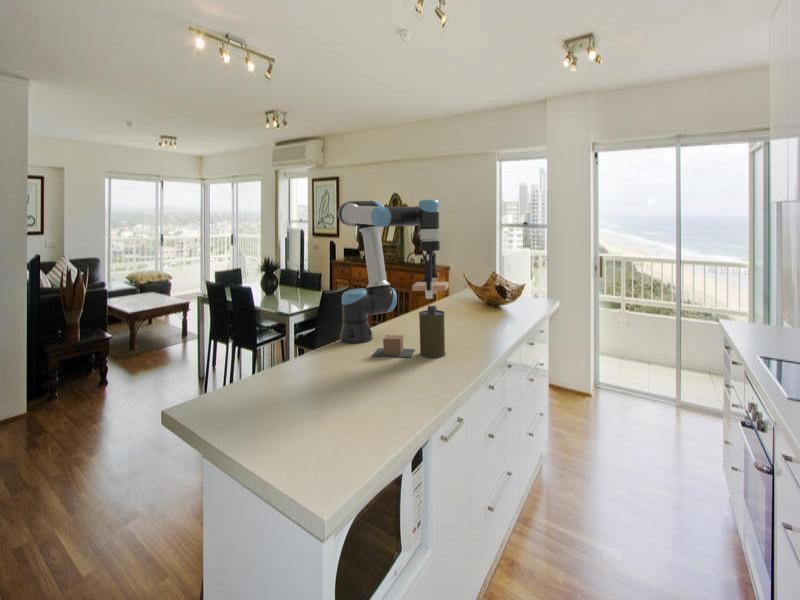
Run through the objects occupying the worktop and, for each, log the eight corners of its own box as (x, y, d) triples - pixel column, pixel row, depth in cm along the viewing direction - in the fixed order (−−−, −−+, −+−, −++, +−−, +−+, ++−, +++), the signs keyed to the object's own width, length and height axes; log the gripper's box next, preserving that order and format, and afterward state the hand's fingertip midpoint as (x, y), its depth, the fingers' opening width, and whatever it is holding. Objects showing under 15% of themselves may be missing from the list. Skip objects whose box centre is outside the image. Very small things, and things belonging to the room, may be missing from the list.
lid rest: (371, 357, 174) (370, 340, 173) (378, 349, 185) (377, 333, 184) (410, 358, 171) (410, 341, 170) (415, 350, 182) (414, 334, 181)
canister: (444, 358, 169) (443, 308, 166) (418, 357, 171) (416, 308, 168) (446, 350, 180) (446, 303, 176) (422, 350, 182) (420, 303, 178)
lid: (412, 290, 167) (412, 285, 166) (416, 286, 177) (416, 282, 177) (446, 290, 164) (445, 285, 164) (448, 286, 175) (448, 281, 174)
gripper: (424, 239, 180) (425, 291, 183) (415, 242, 157) (417, 301, 161) (442, 239, 178) (443, 291, 182) (435, 241, 155) (437, 301, 159)
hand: (431, 296), depth 171 cm, fingers closed on lid, 11 cm apart
